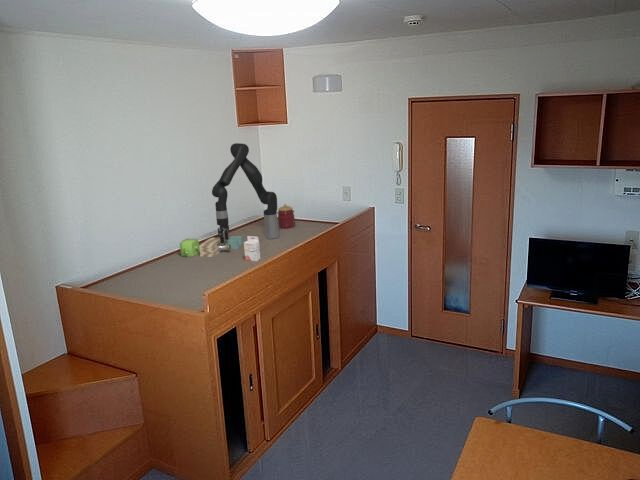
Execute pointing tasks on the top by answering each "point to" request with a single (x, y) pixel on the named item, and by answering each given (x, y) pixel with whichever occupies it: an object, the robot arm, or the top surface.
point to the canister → (286, 217)
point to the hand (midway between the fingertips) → (224, 241)
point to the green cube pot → (189, 247)
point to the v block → (235, 242)
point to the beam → (210, 247)
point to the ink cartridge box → (252, 249)
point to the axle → (224, 247)
